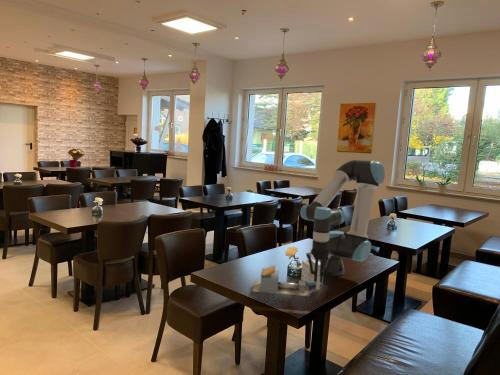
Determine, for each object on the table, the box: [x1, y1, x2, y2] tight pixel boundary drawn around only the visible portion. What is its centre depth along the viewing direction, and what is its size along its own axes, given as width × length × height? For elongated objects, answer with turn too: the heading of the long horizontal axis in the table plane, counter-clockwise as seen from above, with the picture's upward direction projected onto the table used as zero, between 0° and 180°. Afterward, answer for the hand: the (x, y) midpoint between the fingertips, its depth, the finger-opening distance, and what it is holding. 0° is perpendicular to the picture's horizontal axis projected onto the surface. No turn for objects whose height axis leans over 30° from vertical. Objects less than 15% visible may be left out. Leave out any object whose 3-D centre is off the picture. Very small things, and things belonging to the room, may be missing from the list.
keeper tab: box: [260, 264, 276, 278], centre depth 180 cm, size 7×10×1 cm
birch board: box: [251, 280, 311, 297], centre depth 180 cm, size 27×13×1 cm, turn 84°
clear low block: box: [278, 279, 307, 293], centre depth 179 cm, size 14×6×4 cm, turn 84°
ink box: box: [300, 259, 324, 287], centre depth 190 cm, size 9×8×13 cm
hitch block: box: [259, 270, 280, 294], centre depth 180 cm, size 8×12×6 cm, turn 174°
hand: (317, 288), depth 178 cm, fingers closed
